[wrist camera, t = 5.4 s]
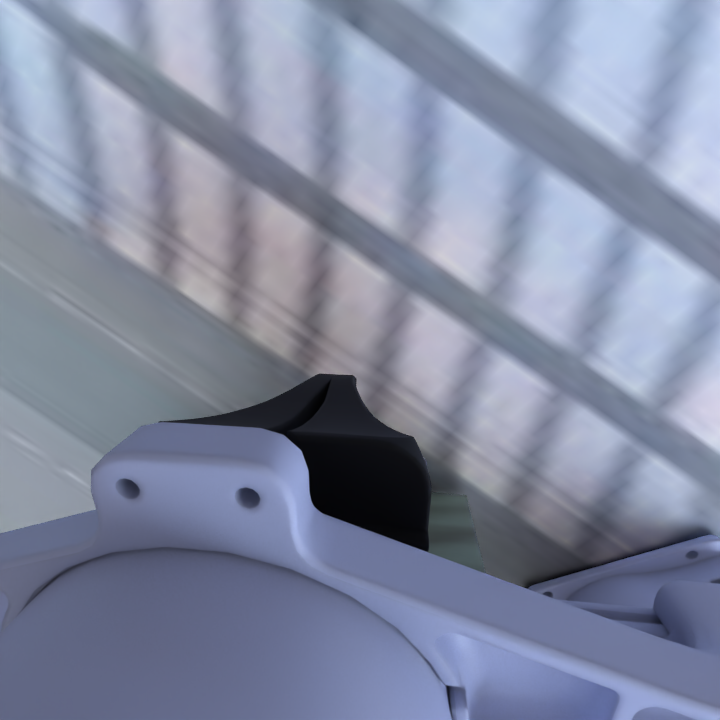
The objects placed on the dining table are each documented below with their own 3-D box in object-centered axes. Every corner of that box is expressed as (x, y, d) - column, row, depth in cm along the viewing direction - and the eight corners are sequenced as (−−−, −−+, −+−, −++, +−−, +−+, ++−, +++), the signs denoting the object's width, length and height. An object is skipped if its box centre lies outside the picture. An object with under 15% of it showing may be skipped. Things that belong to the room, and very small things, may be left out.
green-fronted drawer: (221, 395, 17) (104, 511, 10) (478, 408, 16) (537, 547, 9) (254, 646, 23) (195, 824, 16) (443, 666, 22) (463, 866, 15)
